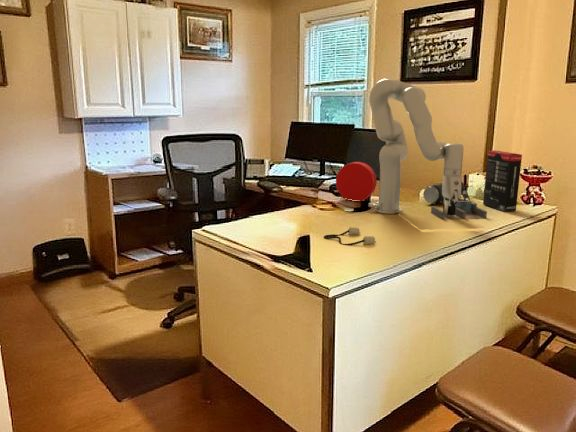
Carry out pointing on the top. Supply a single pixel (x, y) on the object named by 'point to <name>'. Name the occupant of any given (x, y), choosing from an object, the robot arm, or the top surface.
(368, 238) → the cable
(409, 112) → the robot arm
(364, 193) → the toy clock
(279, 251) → the top surface
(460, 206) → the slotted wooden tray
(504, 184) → the graphics card box
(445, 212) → the cream plastic cylinder
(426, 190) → the muzzle brake
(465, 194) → the portable electronic device stand
